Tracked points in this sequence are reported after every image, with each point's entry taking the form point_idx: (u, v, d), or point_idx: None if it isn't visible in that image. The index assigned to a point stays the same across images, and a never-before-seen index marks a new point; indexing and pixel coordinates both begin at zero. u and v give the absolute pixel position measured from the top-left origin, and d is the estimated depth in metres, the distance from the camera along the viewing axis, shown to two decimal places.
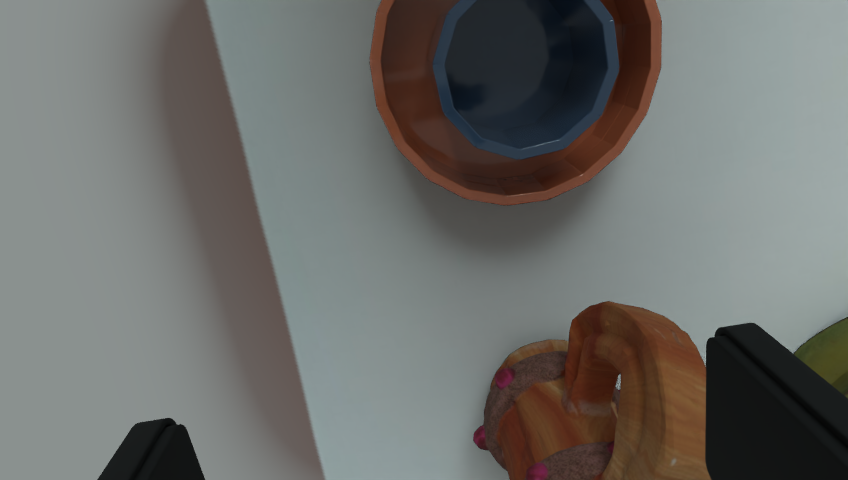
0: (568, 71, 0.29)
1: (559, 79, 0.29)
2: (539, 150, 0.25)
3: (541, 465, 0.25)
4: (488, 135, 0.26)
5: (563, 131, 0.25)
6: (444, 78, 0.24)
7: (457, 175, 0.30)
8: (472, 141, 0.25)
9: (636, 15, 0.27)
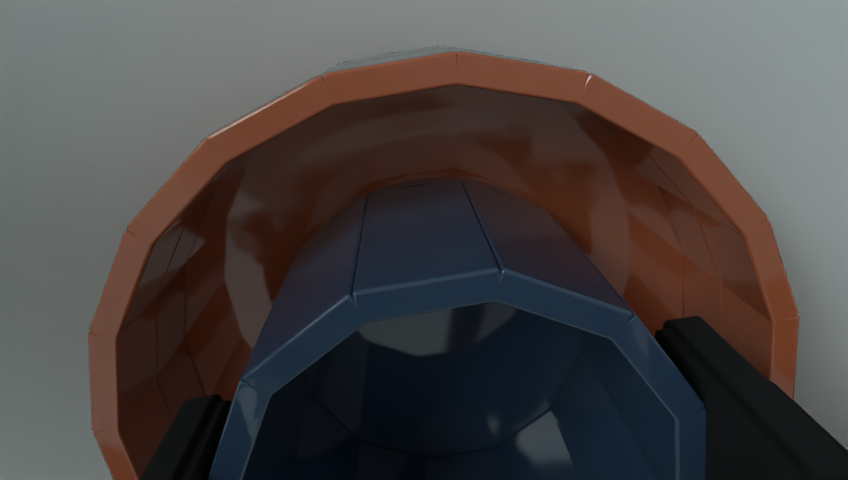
0: None
1: None
2: None
3: None
4: None
5: (662, 471, 0.10)
6: None
7: None
8: None
9: None
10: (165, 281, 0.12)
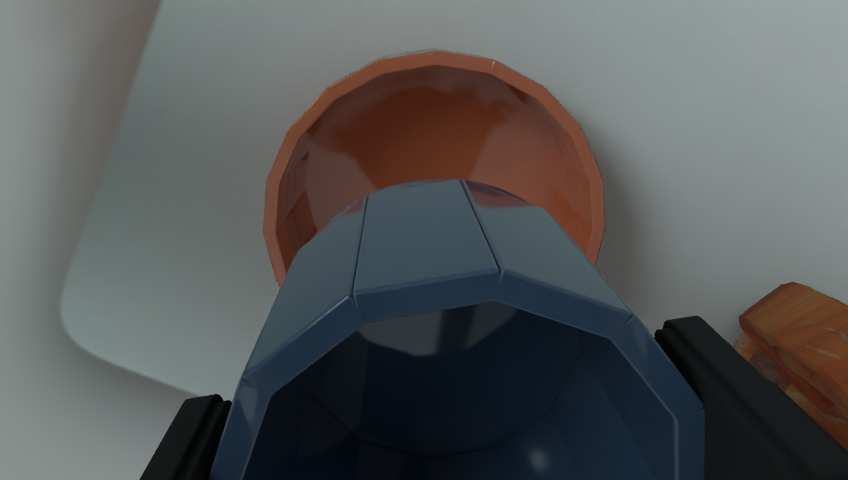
0: None
1: None
2: None
3: None
4: None
5: (661, 470, 0.10)
6: None
7: None
8: None
9: None
10: (292, 167, 0.23)
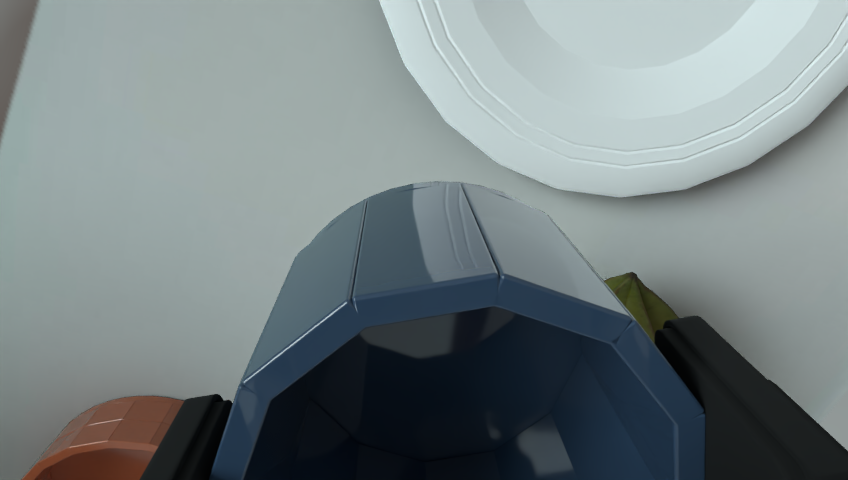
0: None
1: None
2: None
3: None
4: None
5: (661, 474, 0.10)
6: None
7: None
8: None
9: None
10: None
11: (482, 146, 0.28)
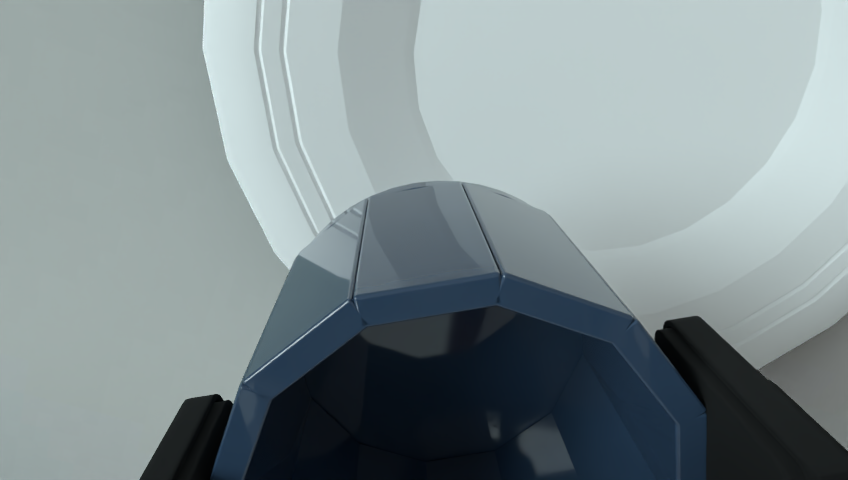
0: None
1: None
2: None
3: None
4: None
5: (663, 474, 0.10)
6: None
7: None
8: None
9: None
10: None
11: None
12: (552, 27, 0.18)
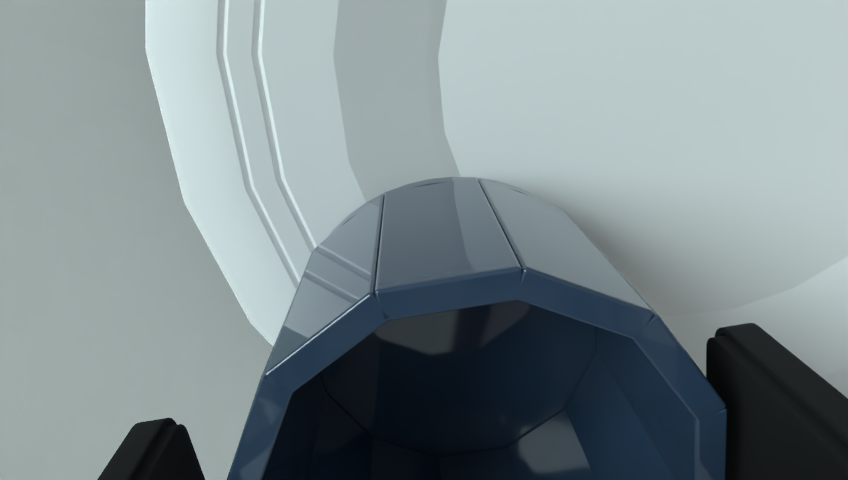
0: None
1: None
2: None
3: None
4: None
5: (680, 470, 0.10)
6: None
7: None
8: None
9: None
10: None
11: None
12: (629, 21, 0.13)
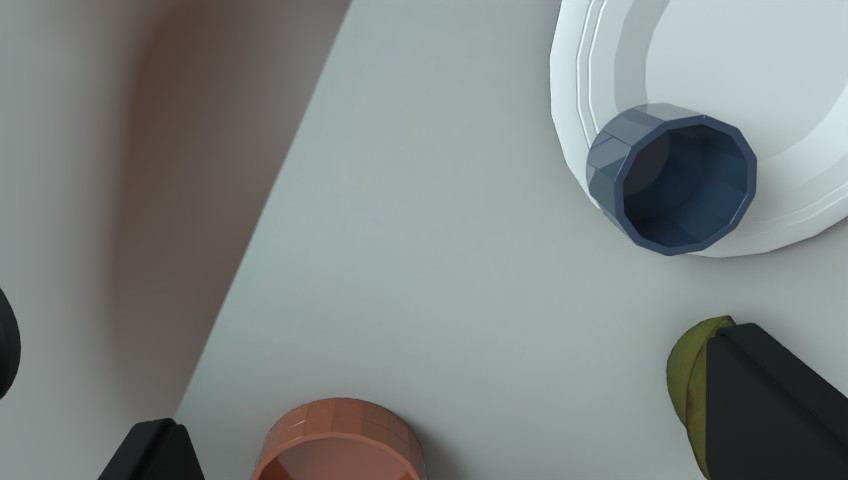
0: (690, 128, 0.35)
1: (690, 137, 0.35)
2: (742, 211, 0.32)
3: None
4: (698, 228, 0.33)
5: (742, 185, 0.32)
6: (649, 242, 0.32)
7: None
8: (699, 249, 0.32)
9: None
10: None
11: None
12: (718, 45, 0.35)
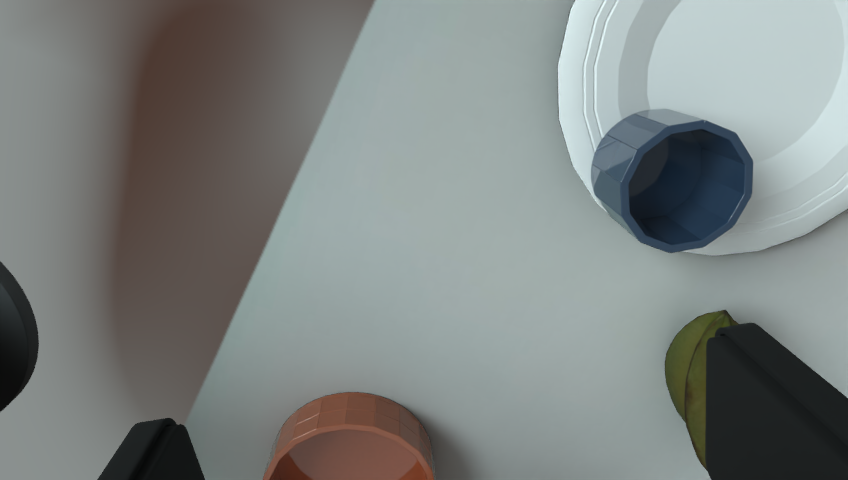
0: (689, 132, 0.37)
1: (689, 141, 0.37)
2: (739, 210, 0.34)
3: None
4: (698, 226, 0.35)
5: (739, 186, 0.34)
6: (652, 240, 0.34)
7: None
8: (699, 247, 0.34)
9: None
10: None
11: None
12: (715, 55, 0.37)
